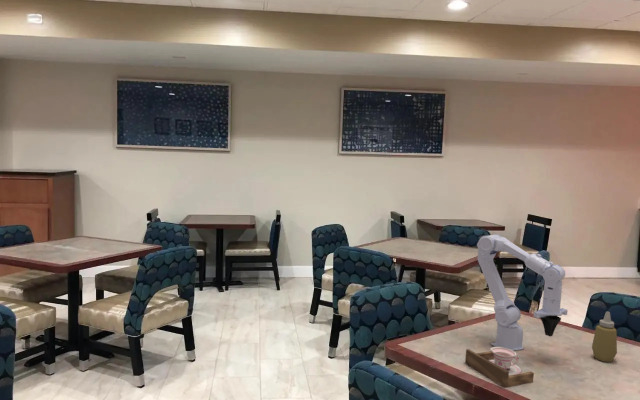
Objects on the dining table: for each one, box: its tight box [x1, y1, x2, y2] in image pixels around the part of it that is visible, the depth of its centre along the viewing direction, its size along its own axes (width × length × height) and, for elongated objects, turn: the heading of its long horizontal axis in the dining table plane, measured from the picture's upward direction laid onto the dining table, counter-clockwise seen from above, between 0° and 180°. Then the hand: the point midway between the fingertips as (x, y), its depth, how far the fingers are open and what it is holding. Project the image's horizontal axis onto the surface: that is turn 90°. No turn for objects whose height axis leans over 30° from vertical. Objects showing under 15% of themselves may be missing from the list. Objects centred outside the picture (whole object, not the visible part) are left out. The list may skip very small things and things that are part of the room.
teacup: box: [489, 346, 522, 376], centre depth 161 cm, size 12×12×6 cm
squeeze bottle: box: [591, 311, 618, 363], centre depth 172 cm, size 8×8×18 cm
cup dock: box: [464, 348, 535, 388], centre depth 158 cm, size 12×18×5 cm, turn 23°
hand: (548, 335), depth 169 cm, fingers closed
